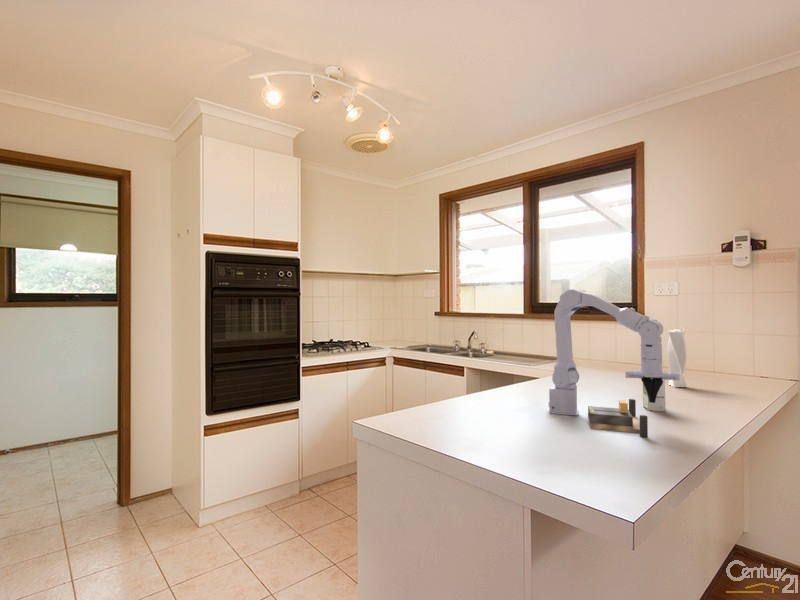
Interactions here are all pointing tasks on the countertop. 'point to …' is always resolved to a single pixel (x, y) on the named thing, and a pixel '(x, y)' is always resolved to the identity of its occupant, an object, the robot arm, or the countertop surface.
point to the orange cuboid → (623, 406)
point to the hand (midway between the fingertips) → (652, 402)
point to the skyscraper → (676, 356)
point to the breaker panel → (618, 428)
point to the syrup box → (660, 399)
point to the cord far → (632, 407)
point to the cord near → (643, 426)
